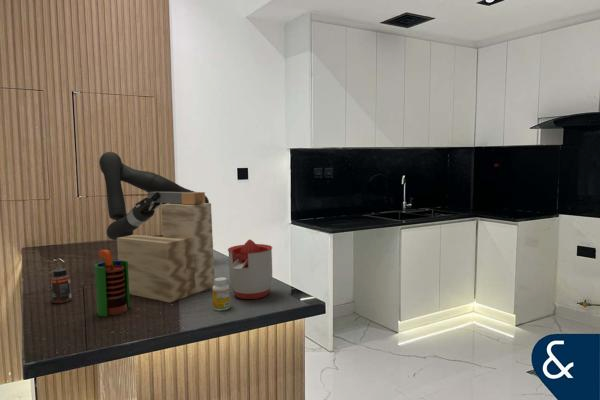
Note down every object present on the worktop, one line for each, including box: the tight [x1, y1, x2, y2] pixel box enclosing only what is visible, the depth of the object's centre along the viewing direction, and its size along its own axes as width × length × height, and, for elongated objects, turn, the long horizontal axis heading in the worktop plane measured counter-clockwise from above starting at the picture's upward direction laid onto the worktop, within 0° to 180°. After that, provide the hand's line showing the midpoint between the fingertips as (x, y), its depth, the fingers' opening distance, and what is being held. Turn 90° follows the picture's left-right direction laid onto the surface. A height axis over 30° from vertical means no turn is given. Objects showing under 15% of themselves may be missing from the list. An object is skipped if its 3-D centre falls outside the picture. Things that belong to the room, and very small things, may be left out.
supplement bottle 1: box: [50, 268, 72, 304], centre depth 157 cm, size 6×6×11 cm
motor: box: [94, 249, 131, 318], centre depth 144 cm, size 10×9×20 cm
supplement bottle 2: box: [211, 276, 231, 312], centre depth 144 cm, size 5×5×10 cm
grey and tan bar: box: [147, 191, 206, 205], centre depth 171 cm, size 6×26×4 cm, turn 58°
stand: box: [116, 202, 215, 303], centre depth 167 cm, size 22×27×32 cm
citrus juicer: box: [227, 239, 273, 300], centre depth 156 cm, size 16×17×20 cm
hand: (163, 193), depth 174 cm, fingers closed on grey and tan bar, 4 cm apart
